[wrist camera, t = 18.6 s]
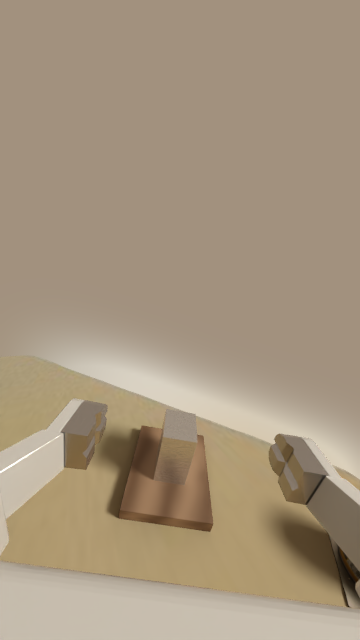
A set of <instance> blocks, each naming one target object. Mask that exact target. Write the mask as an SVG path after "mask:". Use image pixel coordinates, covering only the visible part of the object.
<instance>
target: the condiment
mask: <svg viewBox="0 0 360 640" xmlns="http://www.w3.org/2000/svg"><path fill="white" fill-rule="evenodd" d="M329 537H330V540H331V544H332V548H333V551H334V555H335V558H336V562H337V564H338V568H339V572H340V576H341V580H342V584H343V587H344V590H345V593H346V597H347V601H348V604H349V606H350V607H351V608H358V609H360V597H359V595H358V593H357V591H356V589H355V586H356V583H357V582H358V581H359V580H360V571H359V570H358V569H357V568H356V567H355V565H354V564H353V563H352V562H351V560H350V559H349V558H348V557H347V556H346V554H345V553H344V552H343V551H342V549H341V548H340V547H339V546H338V545H337V543H336V542H335V541H334V540H333V538H332V537H331V536H330V535H329ZM349 578H350V579H349Z"/></svg>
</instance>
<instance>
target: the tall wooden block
mask: <svg viewBox="0 0 360 640" xmlns="http://www.w3.org/2000/svg"><path fill="white" fill-rule="evenodd" d="M197 443H198V442H197V429H196V416H195V414H192V413H186V412H180V411H174V410H169V409H166V413H165V418H164V423H163V427H162V432H161V437H160V441H159V446H158V452H157V459H156V466H155V473H154V480H155V481H162V482H168V483H174V484H181V485H185V482H186V479H187V476H188V472H189V469H190V466H191V463H192V459H193V456H194V453H195V449H196V446H197Z"/></svg>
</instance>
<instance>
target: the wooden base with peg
mask: <svg viewBox="0 0 360 640" xmlns="http://www.w3.org/2000/svg"><path fill="white" fill-rule="evenodd" d="M161 432H162V429H159V428H153V427H147V426H142V427H141V431H140V434H139V438H138V442H137V446H136V450H135V454H134V457H133V461H132V465H131V469H130V473H129V476H128V480H127V484H126V488H125V492H124V495H123V499H122V503H121V507H120V511H119V518H121V519H127V520H134V521H141V522H148V523H155V524H161V525H168V526H175V527H182V528H189V529H195V530H202V531H209V532H210V530H211V528H212V526H213V517H212V509H211V500H210V491H209V482H208V473H207V465H206V456H205V447H204V438H203V436H201V435H197V442H198V443H197V446H196V449H195V453H194V456H193V459H192V463H191V466H190V469H189V472H188V476H187V479H186V482H185V485H181V484H174V483H168V482H162V481H155V480H154V473H155V466H156V459H157V452H158V446H159V441H160V437H161Z"/></svg>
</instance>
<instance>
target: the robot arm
mask: <svg viewBox="0 0 360 640" xmlns="http://www.w3.org/2000/svg"><path fill="white" fill-rule="evenodd" d="M106 412H107V405H106V404H101V403H96V402H91V401H86V400H80V399H75V398H74V399H72V400H71V401H70V402H69V403H68V404H67V405H66V407H65V408H64V409H63V410H62V411H61V412H60V414H59V415H58V416H57V417H56V418H55V420H54V421H53V422H52V423H51V424H50V425H49V427H48V428H47V429H46V430H40V431H38V432H36V433H35V434H33V435H31V436H29V437H27V438H25V439H23V440H22V441H20V442H18V443H16V444H14V445H12V446H10V447H9V448H7V449H5V450H3V451H1V452H0V555H1V553H2V552H3V550H4V548H5V547H6V545H7V544H8V542H9V533H8V527H7V522H6V519H7V518H8V517H9V516H10V515H11V514H13V513H14V512H15V511H16V510H17V509H18V508H19V507H21V506H22V505H23V504H24V503H25V502H26V501H27V500H29V499H30V498H31V497H32V496H33V495H34V494H35V493H37V492H38V491H39V490H40V489H41V488H42V487H44V486H45V485H46V484H47V483H48V482H49V481H50V480H52V479H53V478H54V477H55V476H56V475H57V474H58V473H60V472H61V471H62V470H63V469H64V467H66V468H74V469H83V470H86V469H87V467H88V465H89V462H90V460H91V458H92V456H93V454H94V450H95V445H96V444H97V443H99V442H100V440H101V437H102V435H103V432H104V429H105V426H106V417H105V414H106ZM275 442H276V443H275V444H274V445H272V446H271V447H270V450H269V461H270V465H271V467H272V469H273V471H274V472H275V473H276V474H277V475H278V476H279V478H278V483H279V485H280V488H281V490H282V492H283V495H284V497H285V499H286V501H288V502H293V503H299V504H304V505H307V506H306V507H307V508H308V509H309V510H310V512H311V513H312V514H313V515H314V516H315V518H316V519H317V520H318V521H319V523H320V524H321V525H322V526H323V527H324V529H325V530H326V531H327V532H328V534H329V535H330V536H331V537H332V538H333V540H334V541H335V542H336V543H337V545H338V546H339V547H340V548H341V549H342V551H343V552H344V553H345V554H346V556H347V557H348V558H349V559H350V560H351V562H352V563H353V564H354V565H355V567H356V568H357V569H358V570H359V571H360V491H359V490H358V489H357V488H356V487H354V486H353V485H352V484H351V483H349V482H348V481H347V480H346V479H342V478H341V477H340V475H339V474H338V473H337V471H336V470H335V469H334V467H333V466H332V465H331V463H330V462H329V461H328V459H327V458H326V457H325V455H324V454H323V453H322V451H321V450H320V449H319V447H318V446H317V445H316V443H315V442H314V441H313V440H311V439H309V438H302V437H297V436H290V435H284V434H278V435H276V437H275ZM355 589H356V591H357V593H358V595H359V597H360V580H359V581H358V582H357V583H356V586H355ZM0 640H360V609H358V608H350V607H343V606H336V605H328V604H321V603H313V602H306V601H298V600H291V599H283V598H276V597H269V596H261V595H254V594H246V593H239V592H231V591H224V590H217V589H209V588H202V587H194V586H187V585H179V584H172V583H165V582H157V581H150V580H142V579H135V578H127V577H120V576H112V575H105V574H97V573H90V572H83V571H75V570H68V569H60V568H53V567H45V566H38V565H30V564H23V563H15V562H8V561H1V560H0Z"/></svg>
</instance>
